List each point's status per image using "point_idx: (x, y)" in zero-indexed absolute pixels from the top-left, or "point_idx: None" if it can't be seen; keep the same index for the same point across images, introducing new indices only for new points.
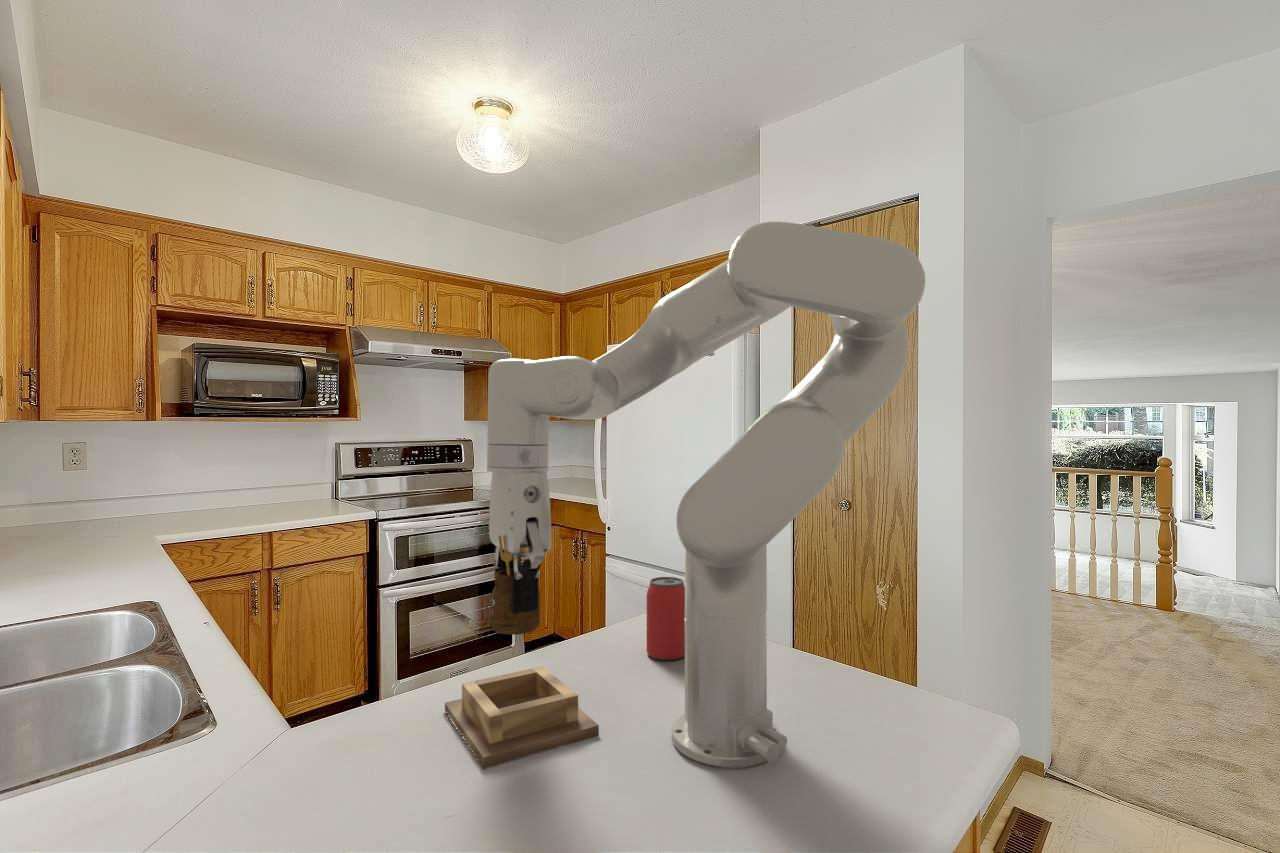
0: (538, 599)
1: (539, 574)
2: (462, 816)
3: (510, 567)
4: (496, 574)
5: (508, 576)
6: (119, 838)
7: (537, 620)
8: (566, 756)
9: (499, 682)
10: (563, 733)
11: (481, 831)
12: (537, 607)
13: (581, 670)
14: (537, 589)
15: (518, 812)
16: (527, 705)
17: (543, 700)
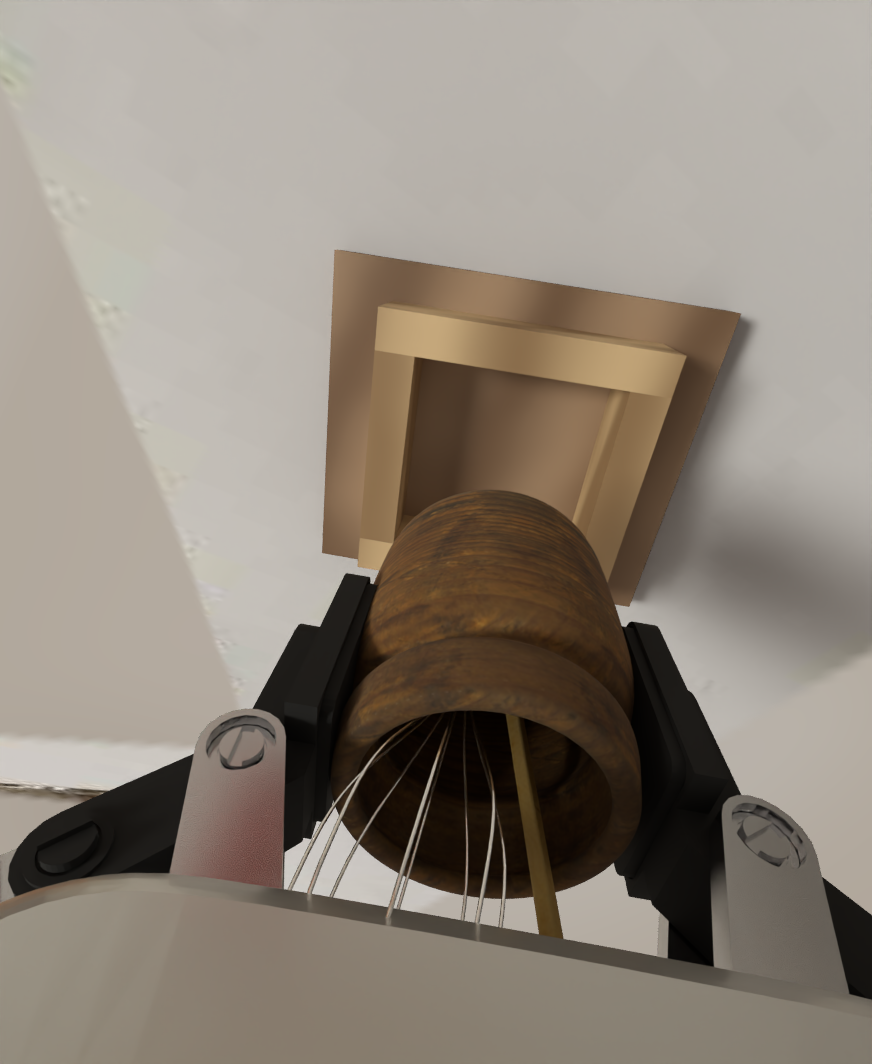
0: (608, 607)
1: (805, 836)
2: (725, 676)
3: (314, 770)
4: (447, 891)
5: (563, 887)
6: (434, 895)
7: (595, 555)
8: (733, 444)
9: (401, 480)
10: (690, 423)
11: (787, 675)
12: (658, 629)
13: (260, 3)
14: (692, 707)
15: (803, 616)
16: (616, 512)
17: (627, 463)
